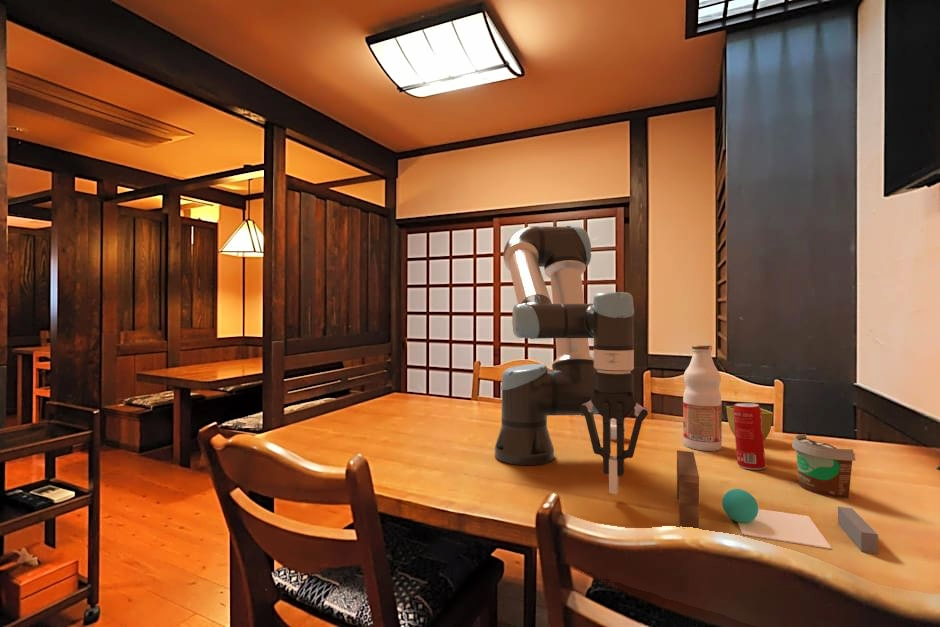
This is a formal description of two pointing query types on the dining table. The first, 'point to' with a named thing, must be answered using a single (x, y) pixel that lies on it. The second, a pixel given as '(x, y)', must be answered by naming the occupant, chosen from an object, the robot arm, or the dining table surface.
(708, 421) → the fruit juice
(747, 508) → the ball
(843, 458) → the food container
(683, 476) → the grey brown rectangular block
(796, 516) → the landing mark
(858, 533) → the wall
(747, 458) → the beverage can
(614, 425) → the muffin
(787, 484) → the dining table surface
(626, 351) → the robot arm
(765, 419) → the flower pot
